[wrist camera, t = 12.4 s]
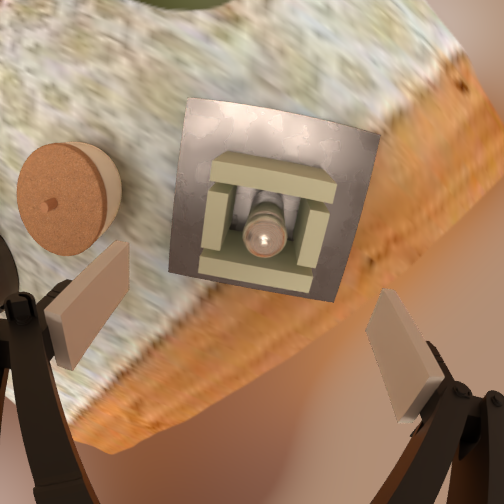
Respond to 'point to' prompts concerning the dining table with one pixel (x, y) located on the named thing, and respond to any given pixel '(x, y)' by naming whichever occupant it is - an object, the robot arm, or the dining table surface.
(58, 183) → the lidded jar
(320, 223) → the square link
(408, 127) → the dining table surface
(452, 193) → the dining table surface
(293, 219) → the keeper base
